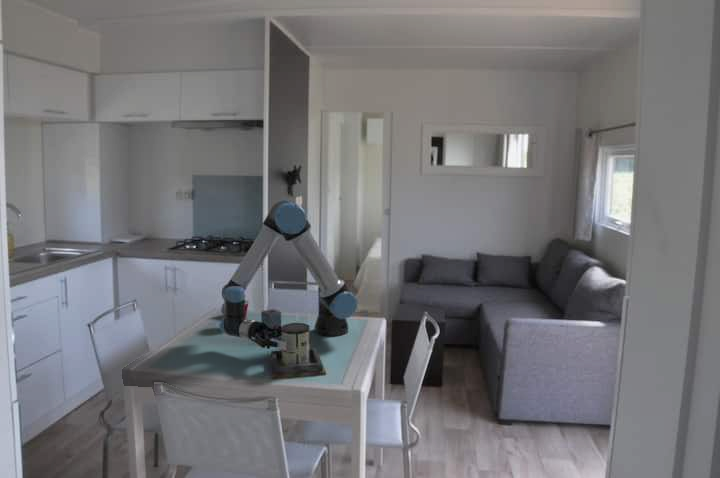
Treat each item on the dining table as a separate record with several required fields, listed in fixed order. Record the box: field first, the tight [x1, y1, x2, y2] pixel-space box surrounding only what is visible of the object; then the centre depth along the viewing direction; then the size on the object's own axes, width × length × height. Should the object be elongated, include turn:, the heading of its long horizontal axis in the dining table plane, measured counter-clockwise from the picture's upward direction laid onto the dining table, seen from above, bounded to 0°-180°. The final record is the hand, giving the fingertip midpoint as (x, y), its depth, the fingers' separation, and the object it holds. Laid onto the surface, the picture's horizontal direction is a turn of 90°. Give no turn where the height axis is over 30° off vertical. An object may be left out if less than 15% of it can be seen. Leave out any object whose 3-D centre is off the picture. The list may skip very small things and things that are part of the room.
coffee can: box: [281, 322, 311, 366], centre depth 192 cm, size 10×10×14 cm
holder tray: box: [268, 347, 327, 380], centre depth 193 cm, size 19×19×4 cm
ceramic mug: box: [221, 301, 226, 316], centre depth 256 cm, size 11×8×8 cm
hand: (297, 340), depth 191 cm, fingers open, 13 cm apart
